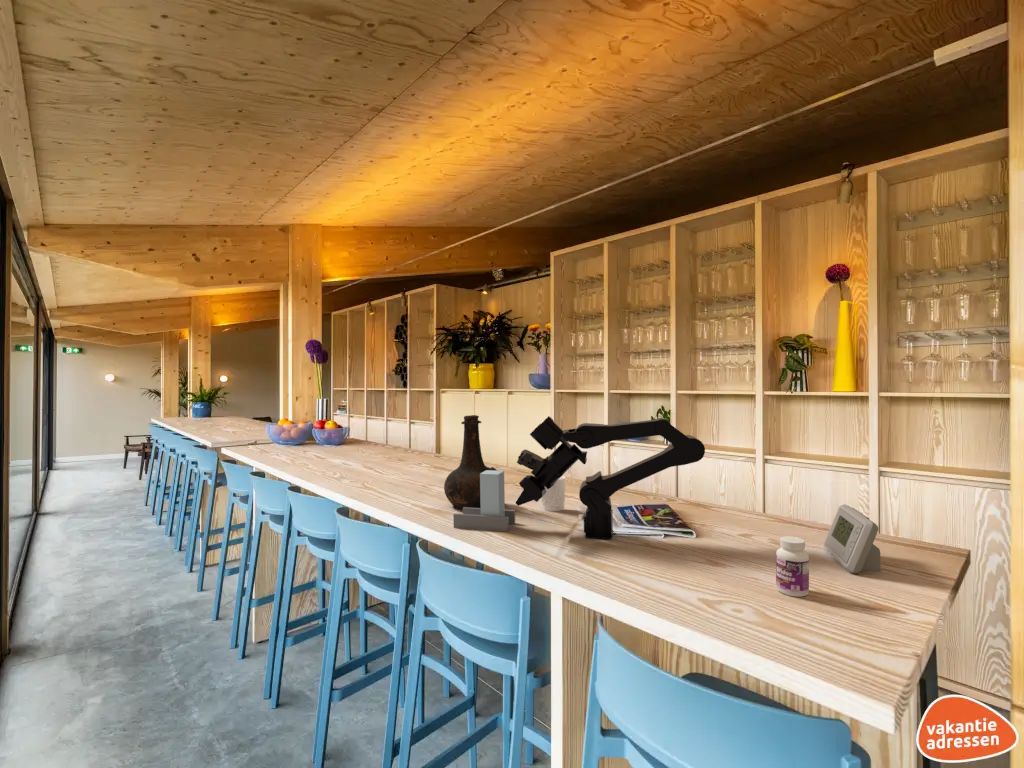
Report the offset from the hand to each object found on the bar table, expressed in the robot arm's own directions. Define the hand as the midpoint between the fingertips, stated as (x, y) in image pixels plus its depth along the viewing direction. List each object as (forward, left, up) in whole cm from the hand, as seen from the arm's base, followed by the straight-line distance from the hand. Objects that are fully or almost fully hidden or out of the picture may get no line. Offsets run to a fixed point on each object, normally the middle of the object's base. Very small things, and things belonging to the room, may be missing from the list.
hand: (517, 504), depth 138 cm
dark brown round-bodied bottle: (+19, -20, -7) cm, 29 cm away
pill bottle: (-59, +25, -7) cm, 64 cm away
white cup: (-5, -21, -7) cm, 23 cm away
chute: (+9, 0, -7) cm, 11 cm away
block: (+7, 0, -6) cm, 9 cm away
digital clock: (-74, +6, -7) cm, 74 cm away
